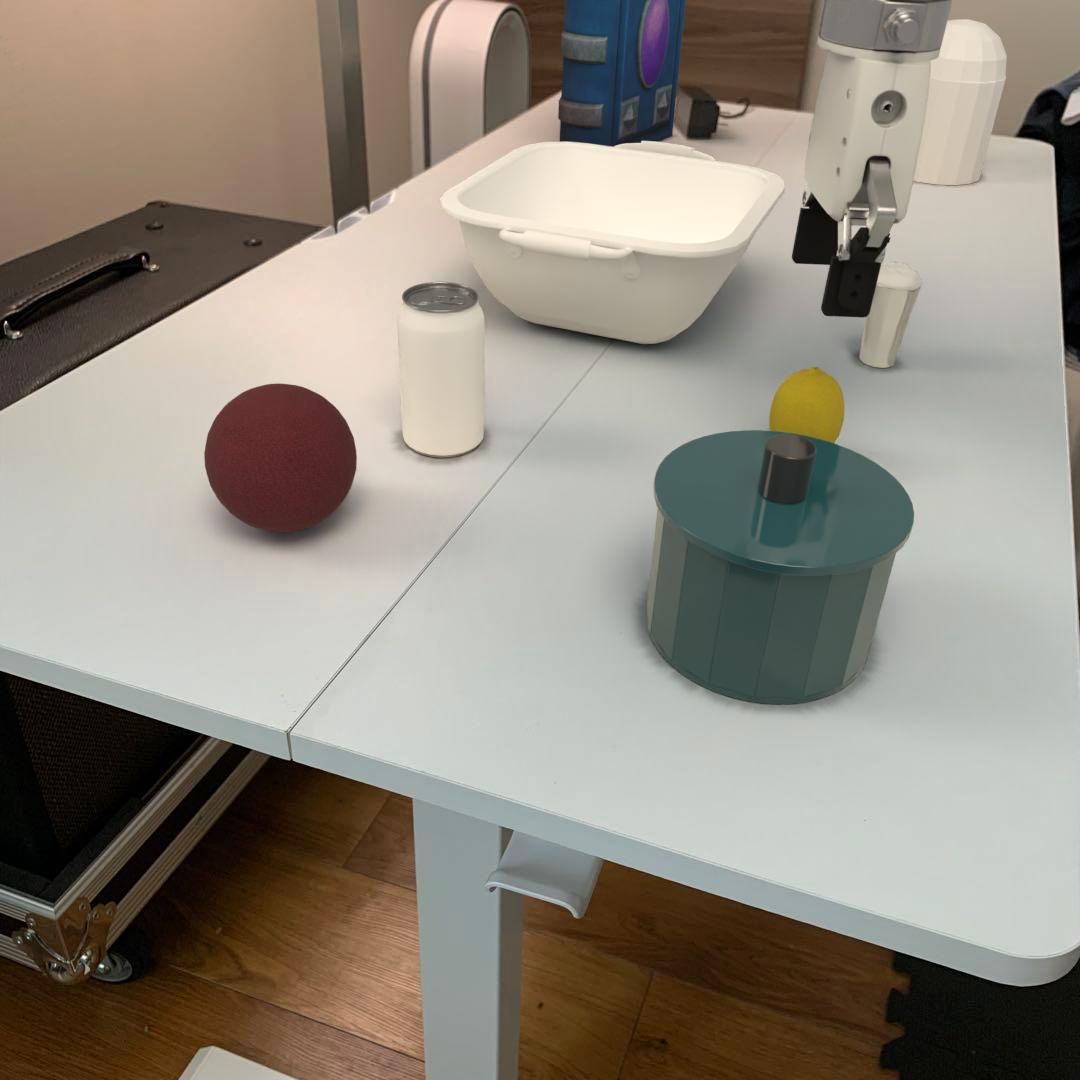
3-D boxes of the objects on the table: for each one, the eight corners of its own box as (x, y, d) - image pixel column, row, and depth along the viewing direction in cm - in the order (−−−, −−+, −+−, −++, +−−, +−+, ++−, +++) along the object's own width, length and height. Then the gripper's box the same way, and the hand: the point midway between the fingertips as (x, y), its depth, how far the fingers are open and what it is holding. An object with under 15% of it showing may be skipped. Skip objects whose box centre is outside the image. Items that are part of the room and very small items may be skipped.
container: (870, 172, 153) (901, 18, 141) (902, 153, 162) (934, 7, 150) (964, 191, 146) (1005, 31, 135) (991, 170, 156) (1032, 19, 144)
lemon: (748, 460, 84) (764, 367, 79) (786, 436, 87) (803, 345, 83) (809, 486, 81) (829, 391, 76) (846, 461, 84) (867, 368, 80)
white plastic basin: (541, 238, 125) (545, 125, 118) (782, 278, 117) (803, 159, 109) (405, 350, 99) (399, 212, 91) (704, 412, 90) (724, 266, 83)
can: (408, 418, 88) (402, 277, 81) (486, 421, 88) (487, 281, 81) (397, 457, 82) (390, 311, 76) (480, 461, 82) (481, 315, 76)
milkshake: (841, 347, 102) (862, 245, 96) (898, 352, 102) (923, 250, 96) (845, 368, 98) (868, 263, 93) (905, 373, 98) (931, 268, 92)
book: (601, 171, 148) (618, -80, 131) (548, 160, 152) (558, -85, 135) (680, 138, 165) (704, -89, 148) (630, 128, 169) (648, -93, 152)
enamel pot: (838, 566, 72) (867, 444, 67) (894, 706, 61) (935, 573, 56) (638, 562, 72) (651, 439, 67) (658, 702, 61) (676, 567, 55)
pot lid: (871, 449, 68) (885, 389, 65) (944, 588, 56) (965, 521, 53) (641, 443, 67) (647, 383, 65) (666, 582, 55) (674, 515, 53)
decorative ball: (276, 580, 69) (258, 445, 63) (186, 521, 74) (161, 392, 69) (390, 518, 75) (383, 390, 70) (300, 467, 81) (286, 345, 75)
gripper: (991, 55, 59) (915, 340, 69) (902, 5, 74) (849, 247, 83) (857, 49, 59) (800, 336, 69) (794, 0, 73) (754, 243, 83)
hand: (827, 287), depth 76 cm, fingers open, 9 cm apart
